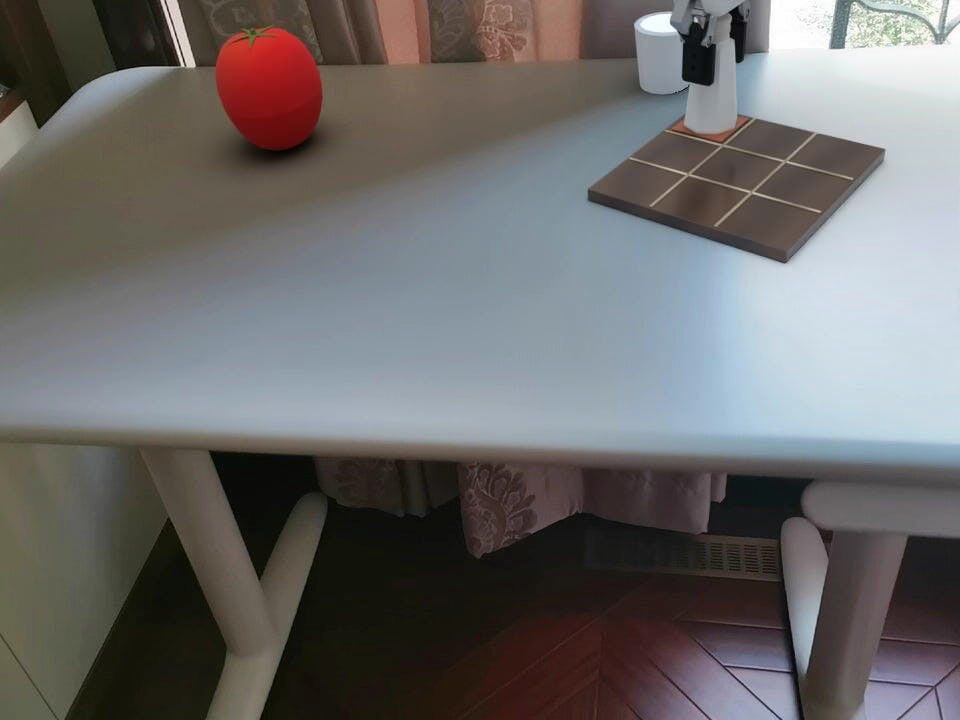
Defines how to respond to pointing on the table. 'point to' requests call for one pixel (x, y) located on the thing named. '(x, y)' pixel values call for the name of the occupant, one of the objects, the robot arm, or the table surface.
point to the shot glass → (659, 54)
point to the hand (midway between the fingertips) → (713, 69)
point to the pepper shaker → (715, 88)
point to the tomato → (269, 87)
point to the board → (740, 183)
